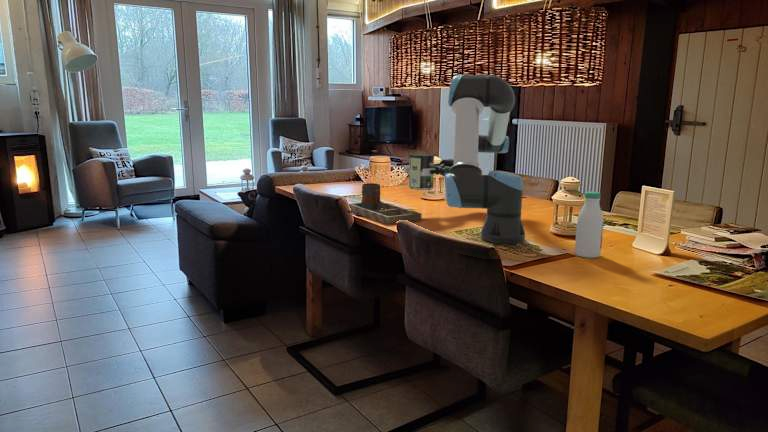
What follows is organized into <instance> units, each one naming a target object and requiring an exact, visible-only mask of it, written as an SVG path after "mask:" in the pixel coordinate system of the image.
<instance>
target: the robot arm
mask: <svg viewBox="0 0 768 432" xmlns="http://www.w3.org/2000/svg"><path fill="white" fill-rule="evenodd" d="M448 92H449V94H448V106H449V107H451V110H452V112H453V113H454V114H455V124H454V125H455V126H454V146H453V158H443V159H442V160H440V162H439V163H438V162H437V163H434V168H427V169H423V175H422V176H426V175H433V176H434V175H440V176H442V177H444V192H445V201H446V204H447V206H448V207H450V208H458V209H486V217H485V220H484V223H483V224H482V228H481V230H480V239H481V240H483V241H484V242H485V241H486V242H488V243H494V244H501V245H504V244H505V245H506V244H507V245H512V244H513V245H514V244H520V243H524V242H525V240H526V232H525V228H524V225H523V221H522V209H523V208H522V207H523V191H524V180H523V177H521V175H518V174H517V173H512V172H508V171H502V170H489V171H488V174H483V169H482V168H481V167H480V166H479V153H486V154H490V153H492V154H506V153H508V152H509V147H510V146H509V145H510V138H509V136H508V135H507V131H508V124H509V120H510V114H511V112H512V111H513V109H514V107H515V103H516V96H515V92H514V89H513V88H512V86H511V84H510V83H508V81H506V80H505V79H504V78H502V77H500V76H498V75H495V74H493V75H491V74H490V75H485V74H484V75H482V74H479V75H477V74H476V75H475V74H474V75H470V74H469V75H468V74H460V75H455V76H453V77H452V79H451V82H450V86H449V91H448ZM484 108H489V109H490V115H489V121H488V123H489V124H488V130H487V131H488V132H487V135H486V134H485V135H481V134H479V132H480V131H479V126H480V125H479V124H480V119H479V118H480V114H481V113H482V112H483V110H484ZM403 173H405V174H409V165H405V166H404V168H403Z"/></svg>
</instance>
